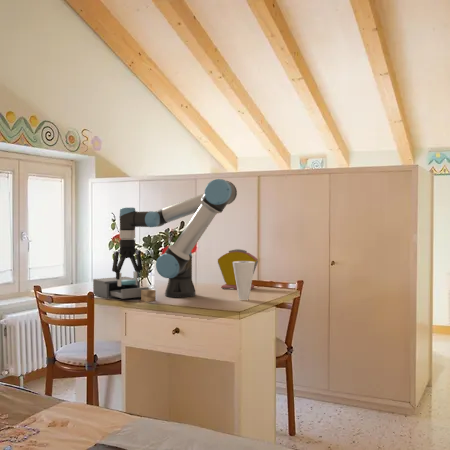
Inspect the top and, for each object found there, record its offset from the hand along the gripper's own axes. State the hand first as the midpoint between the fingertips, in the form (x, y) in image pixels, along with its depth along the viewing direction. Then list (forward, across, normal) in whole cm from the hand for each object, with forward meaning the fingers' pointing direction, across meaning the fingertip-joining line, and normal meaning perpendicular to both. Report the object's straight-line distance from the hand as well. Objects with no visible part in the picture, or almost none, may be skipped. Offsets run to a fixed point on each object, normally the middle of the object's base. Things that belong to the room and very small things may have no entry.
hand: (127, 285), depth 268 cm
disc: (-1, 0, 0) cm, 1 cm away
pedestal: (+6, -4, +14) cm, 16 cm away
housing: (+6, 0, -13) cm, 14 cm away
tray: (+5, 0, +1) cm, 5 cm away
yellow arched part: (+6, -64, +6) cm, 64 cm away
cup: (+6, -41, +40) cm, 58 cm away
